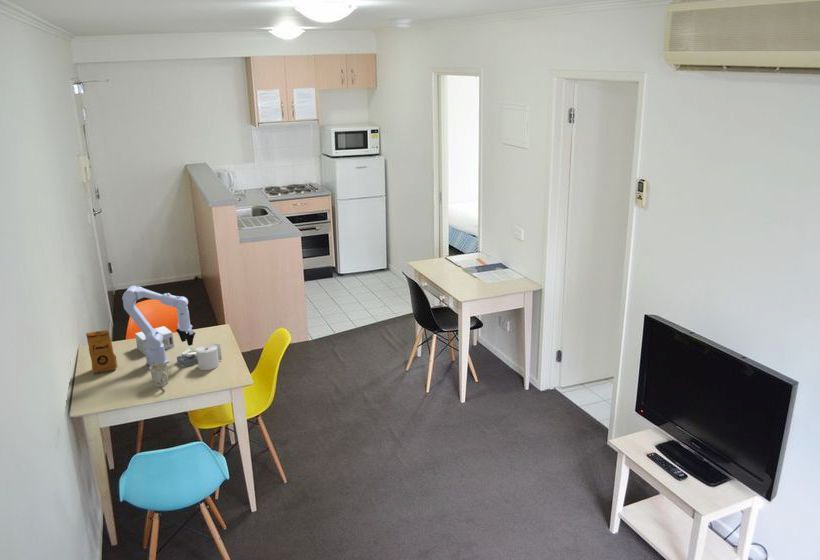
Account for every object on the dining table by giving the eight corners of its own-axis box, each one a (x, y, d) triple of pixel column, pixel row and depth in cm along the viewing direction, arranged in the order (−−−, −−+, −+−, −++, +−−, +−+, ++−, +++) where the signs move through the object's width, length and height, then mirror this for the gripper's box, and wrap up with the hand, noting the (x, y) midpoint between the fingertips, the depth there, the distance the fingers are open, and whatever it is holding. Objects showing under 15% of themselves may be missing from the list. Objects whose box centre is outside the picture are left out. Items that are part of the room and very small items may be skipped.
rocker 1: (184, 356, 352) (183, 354, 351) (181, 354, 354) (181, 352, 353) (194, 350, 355) (193, 348, 354) (191, 349, 357) (191, 347, 356)
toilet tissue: (194, 370, 344) (192, 352, 341) (204, 360, 355) (202, 343, 352) (214, 370, 343) (212, 353, 339) (223, 360, 354) (221, 343, 351)
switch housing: (185, 367, 347) (183, 358, 345) (177, 362, 354) (176, 353, 352) (204, 360, 354) (203, 352, 353) (196, 355, 361) (195, 347, 359)
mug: (164, 378, 335) (161, 361, 332) (177, 385, 327) (175, 367, 324) (149, 385, 329) (146, 366, 325) (162, 392, 321) (159, 373, 318)
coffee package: (117, 371, 344) (110, 332, 337) (91, 375, 340) (83, 336, 333) (119, 364, 353) (112, 326, 346) (93, 367, 349) (86, 329, 342)
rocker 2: (187, 356, 348) (187, 354, 348) (184, 355, 350) (184, 352, 350) (197, 355, 352) (197, 353, 352) (195, 354, 354) (195, 351, 354)
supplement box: (144, 355, 363) (142, 339, 360) (136, 348, 373) (134, 332, 370) (174, 347, 373) (172, 331, 370) (166, 340, 383) (164, 325, 380)
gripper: (197, 321, 346) (200, 344, 350) (184, 314, 356) (187, 337, 360) (184, 324, 341) (188, 348, 346) (172, 317, 351) (175, 341, 356)
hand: (187, 343), depth 353 cm, fingers open, 7 cm apart
